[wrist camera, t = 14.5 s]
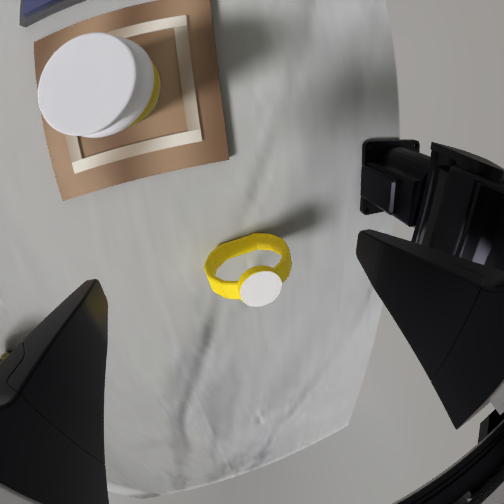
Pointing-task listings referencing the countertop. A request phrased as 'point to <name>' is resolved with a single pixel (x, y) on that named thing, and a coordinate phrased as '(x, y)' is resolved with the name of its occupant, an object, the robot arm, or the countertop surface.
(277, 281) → the watch
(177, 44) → the marked board
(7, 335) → the countertop surface
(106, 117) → the supplement bottle
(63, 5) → the ink pad
